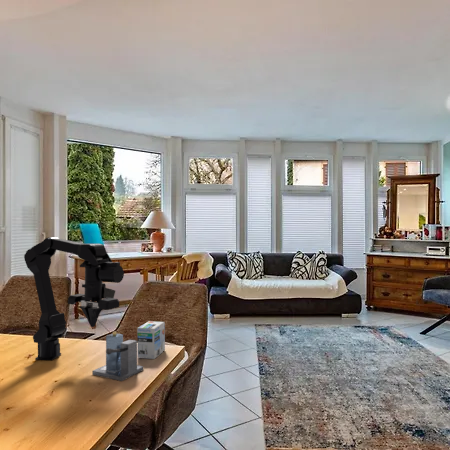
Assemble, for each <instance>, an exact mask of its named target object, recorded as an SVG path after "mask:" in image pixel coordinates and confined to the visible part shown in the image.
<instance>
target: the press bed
mask: <svg viewBox="0 0 450 450" xmlns="http://www.w3.org/2000/svg"><path fill="white" fill-rule="evenodd" d="M115 352H121V369H117V370H108V369H106V364H105V365H103V366H100V367H98V368H95V369H93V370H92V375H93V376H97V377H102V378H106V379H110V380H114V381H115V380H116V381H119V382H123V381H125V380H127V379H129V378H131V377H133V376H134V375H137V374H138V373H140V372H143V371H144V366H142V365H138V340H135V339H128V340H124V341H123V342H122V343H121V348H120V349H111V348H108V349H106V348H105V355H106V354H111V353H115Z"/></svg>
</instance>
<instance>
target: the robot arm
mask: <svg viewBox="0 0 450 450" xmlns="http://www.w3.org/2000/svg"><path fill="white" fill-rule="evenodd" d="M57 251H59V252H64V253H68V254H71V255H76V257H78V258H79V259H81V260H83V261H82V262H81V264H79V267H80V268H84V283H82V284H81V287H82V288H84V293H77V294H72V295H69V297H68V298H67V304H68V305H72V306H73V305H76V304H77V303H80V304H81V305H80V306H79V309H80V310H81V311H82V313H83V314H84V316H85V318H86V320H87V322H88V324H89V326H90V327H91V328H95V327H96V325H97V322H98V320H99V317H100V314H101V312H102V311H103V310H104V311H105V310H106V311H109V310H112V309H117V308H120V300H119V299H118V298H115V295H116V290H114V289H112V288H108V287H106V283H114V284H115V283H117V284H120V283H121V282H122V281H123V280H124V276H125V271H124V268H123V267H122V266H121V262H120V261H115V262H114V261H113V260H112V259H111V257H110V256H109V253H108V252H107V251H106V248H105V245H104V244H102V243H82V242H77V241H71V240H69V239H63V238H59V237H57V236H56V237H55V236H52V237H51V236H49V237H46V238H44V239H43V240H42V241H41V242H39V243H37V244H35V245H33V246H32V247H31V248H29V249H27V250H26V251H25V253H24V255H23V257H24V262H25V264H26V268H27V269H28V270H29V271H30V272H31V273H32V274H33V278H34V279H33V280H34V283H35V288H36V292H37V298H38V304H39V307H40V312H41V315H40V317H39V320H38V330H37V331H36V332H35V333H34V335H32V339H33V343H35V344H37V356H36V357H35V358H34V360H38V361H52V360H55V359H56V358H58V357H60V356H62V352H61V343H60V339H61V338H63V335H64V332H65V331H66V327H67V326H66V325H67V323H68V322H67V321H66V317H65V313H64V312H62V313H61V312H59V310H57V304H56V302H55V297H54V291H53V286H52V281H51V275H50V272H49V271H50V267H51V265H52V257H53V256H55V254H56V253H57Z"/></svg>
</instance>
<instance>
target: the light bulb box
mask: <svg viewBox="0 0 450 450" xmlns="http://www.w3.org/2000/svg"><path fill="white" fill-rule="evenodd" d="M165 325H166V323H165V321H152V320H148V321H147V322H146V323H144V324H142V325H139V327H137V330H136V331H137V335H136V336H137V359H148V360H149V359H150V360H155V359H156V358H158V357H159V356H160V355H161V354H163V353H164V352H165V350H166V346H165V345H166V340H165V339H166V336H165V333H166V331H165V330H166V327H165ZM163 351H164V352H163Z"/></svg>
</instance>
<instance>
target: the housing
mask: <svg viewBox="0 0 450 450" xmlns="http://www.w3.org/2000/svg"><path fill="white" fill-rule="evenodd" d="M122 342H124V334H122V333H117V331H112V333H111V334H107V335H106V336H105V350H106V349H108V348H111V349H120V348H121V343H122ZM105 365H106V369H108V370H117V369H121V352H115V353H111V354H106V353H105Z"/></svg>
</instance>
